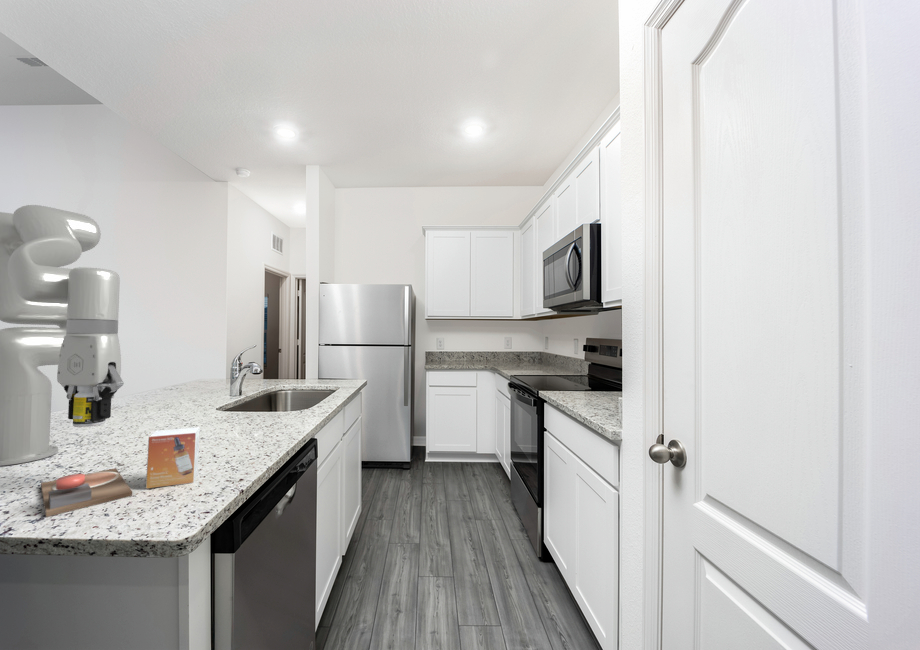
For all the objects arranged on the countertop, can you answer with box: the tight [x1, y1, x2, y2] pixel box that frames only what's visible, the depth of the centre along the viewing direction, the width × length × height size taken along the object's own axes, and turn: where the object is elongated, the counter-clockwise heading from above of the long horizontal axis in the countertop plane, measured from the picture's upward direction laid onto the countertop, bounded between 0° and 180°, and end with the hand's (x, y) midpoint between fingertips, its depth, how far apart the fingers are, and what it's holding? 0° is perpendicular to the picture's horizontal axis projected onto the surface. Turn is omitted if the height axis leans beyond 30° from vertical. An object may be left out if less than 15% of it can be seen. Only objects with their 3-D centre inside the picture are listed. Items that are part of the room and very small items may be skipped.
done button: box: [55, 473, 86, 490], centre depth 67 cm, size 4×4×1 cm
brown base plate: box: [40, 467, 133, 518], centre depth 73 cm, size 18×11×2 cm, turn 50°
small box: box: [145, 426, 201, 489], centre depth 78 cm, size 8×6×10 cm
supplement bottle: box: [72, 382, 107, 428], centre depth 75 cm, size 5×5×8 cm
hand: (89, 417), depth 75 cm, fingers closed on supplement bottle, 4 cm apart
